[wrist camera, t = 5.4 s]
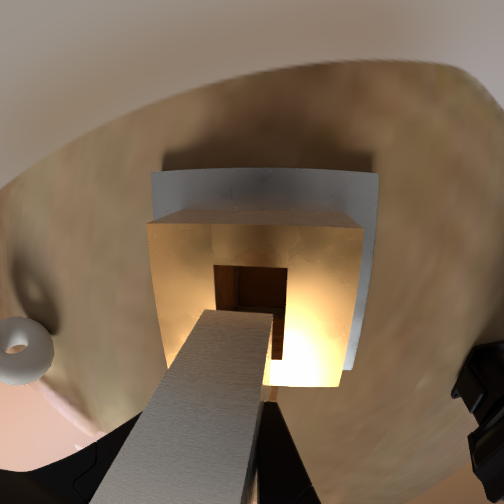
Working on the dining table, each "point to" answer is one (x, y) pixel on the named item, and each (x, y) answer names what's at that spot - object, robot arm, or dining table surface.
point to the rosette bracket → (267, 258)
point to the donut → (24, 351)
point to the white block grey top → (200, 420)
